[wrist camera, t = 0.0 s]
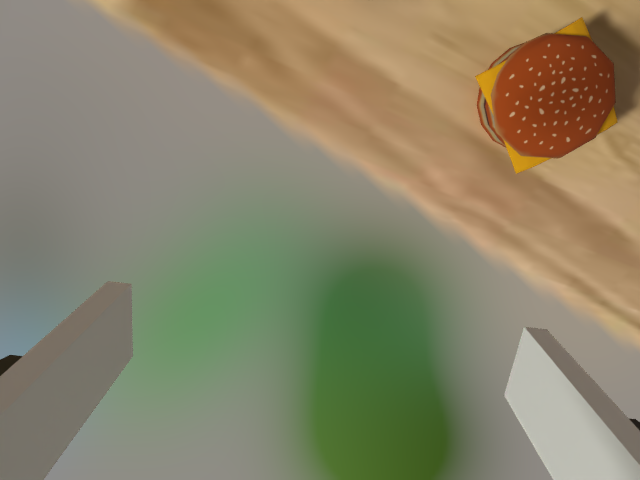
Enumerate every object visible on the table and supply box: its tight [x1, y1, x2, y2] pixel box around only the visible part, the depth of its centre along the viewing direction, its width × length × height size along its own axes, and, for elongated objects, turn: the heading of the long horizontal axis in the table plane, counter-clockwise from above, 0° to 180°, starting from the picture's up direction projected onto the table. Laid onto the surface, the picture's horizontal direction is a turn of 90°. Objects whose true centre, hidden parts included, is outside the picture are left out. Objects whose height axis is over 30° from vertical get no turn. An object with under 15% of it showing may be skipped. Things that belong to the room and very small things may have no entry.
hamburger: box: [475, 17, 617, 173], centre depth 36 cm, size 9×10×7 cm
